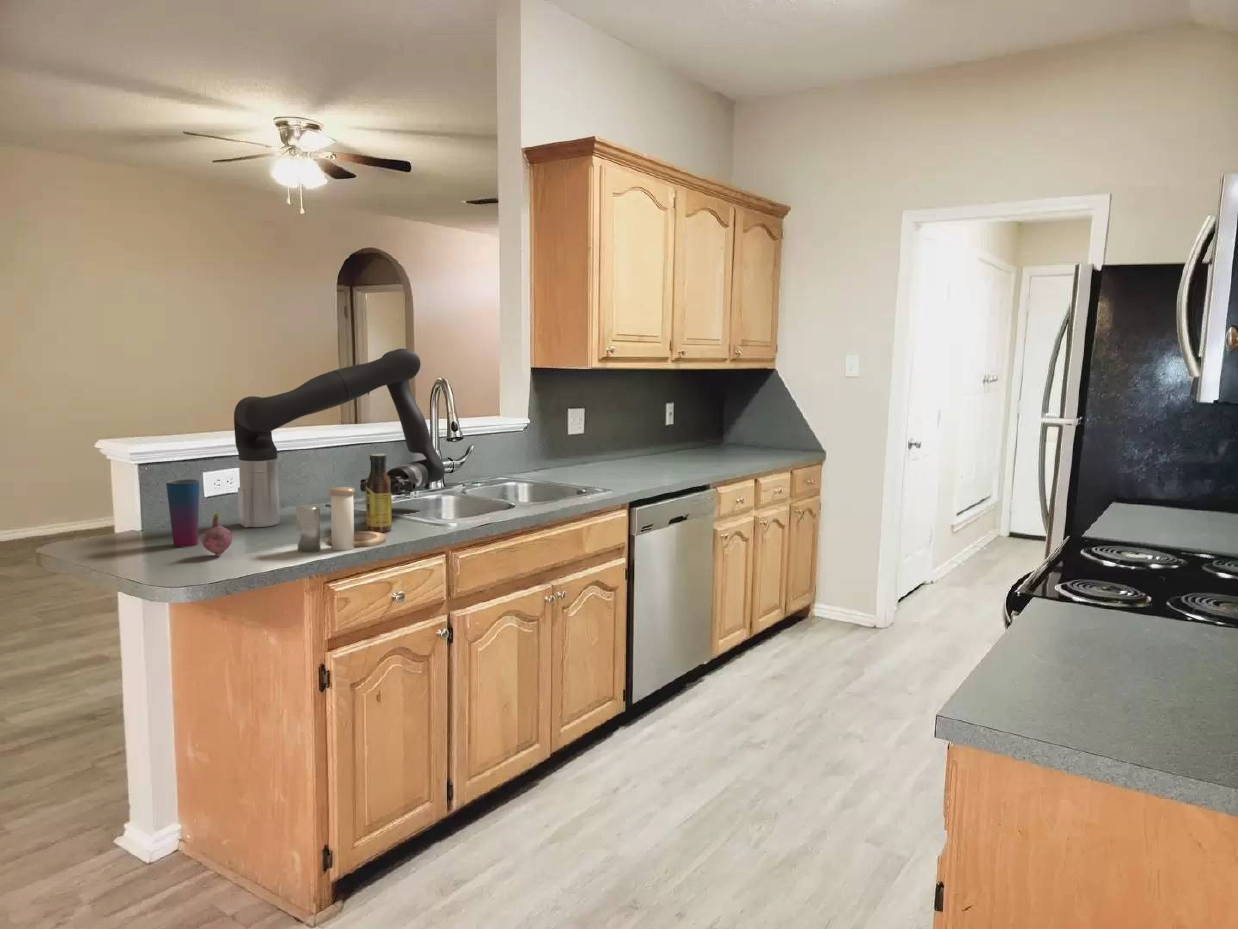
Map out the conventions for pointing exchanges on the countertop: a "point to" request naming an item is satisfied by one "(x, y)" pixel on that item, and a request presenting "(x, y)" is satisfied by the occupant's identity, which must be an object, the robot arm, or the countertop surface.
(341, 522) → the cream jar
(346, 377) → the robot arm
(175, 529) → the cup
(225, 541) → the vegetable
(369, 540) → the oak coaster
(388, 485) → the sauce bottle
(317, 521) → the spice tin
